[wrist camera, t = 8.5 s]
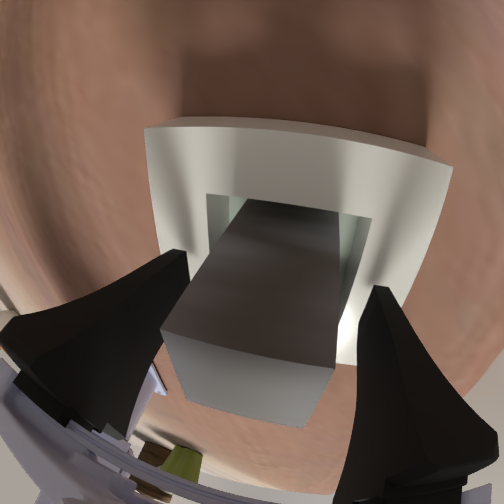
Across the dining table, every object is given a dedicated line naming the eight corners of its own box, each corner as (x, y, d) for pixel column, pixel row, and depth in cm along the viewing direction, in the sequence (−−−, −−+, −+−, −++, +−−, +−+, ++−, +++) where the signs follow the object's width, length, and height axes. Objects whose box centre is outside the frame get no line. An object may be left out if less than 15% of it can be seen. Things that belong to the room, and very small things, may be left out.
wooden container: (195, 463, 68) (174, 515, 50) (162, 452, 74) (140, 499, 56) (171, 449, 61) (145, 507, 44) (137, 436, 67) (111, 487, 49)
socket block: (197, 294, 18) (177, 327, 15) (181, 116, 11) (143, 128, 9) (366, 327, 15) (367, 366, 13) (426, 147, 9) (453, 167, 7)
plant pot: (172, 447, 57) (157, 479, 48) (163, 436, 51) (146, 473, 42) (213, 461, 56) (200, 495, 47) (211, 454, 49) (195, 493, 40)
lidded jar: (22, 330, 44) (1, 357, 37) (-1, 295, 38) (-25, 323, 31) (44, 346, 42) (21, 377, 34) (18, 308, 36) (-10, 341, 28)
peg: (248, 265, 15) (187, 400, 8) (250, 194, 12) (159, 328, 6) (324, 278, 14) (303, 428, 7) (338, 207, 12) (335, 368, 5)
